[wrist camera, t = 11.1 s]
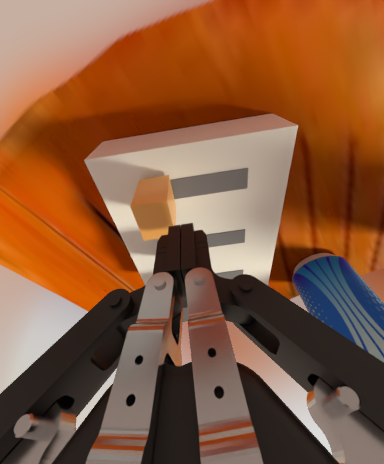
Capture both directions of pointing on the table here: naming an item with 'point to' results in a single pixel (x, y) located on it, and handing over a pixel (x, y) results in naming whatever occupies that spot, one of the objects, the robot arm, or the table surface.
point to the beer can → (341, 300)
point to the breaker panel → (205, 187)
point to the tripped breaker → (154, 207)
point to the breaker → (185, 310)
